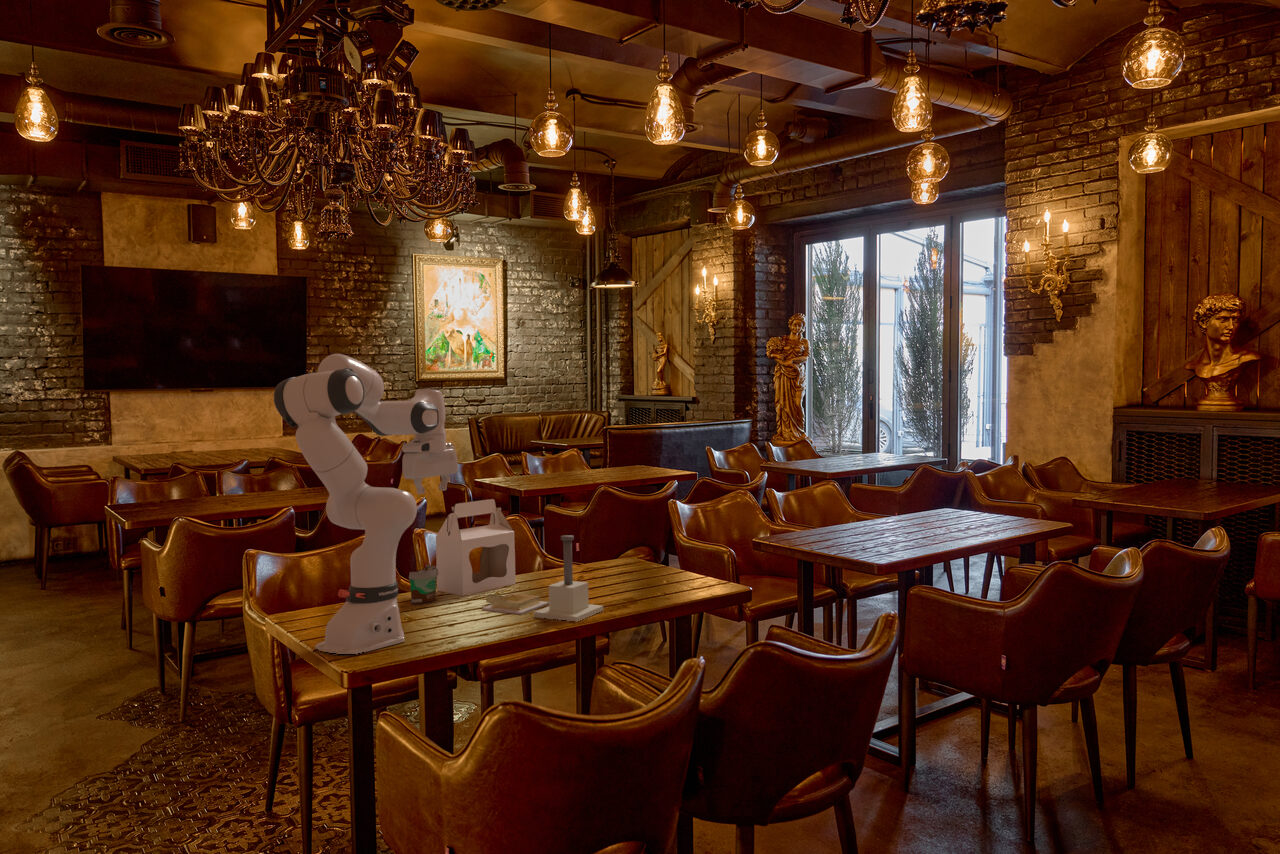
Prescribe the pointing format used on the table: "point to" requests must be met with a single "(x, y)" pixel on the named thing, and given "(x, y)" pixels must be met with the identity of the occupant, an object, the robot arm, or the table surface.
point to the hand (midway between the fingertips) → (432, 491)
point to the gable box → (459, 544)
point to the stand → (568, 593)
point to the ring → (512, 601)
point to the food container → (423, 585)
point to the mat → (523, 611)
